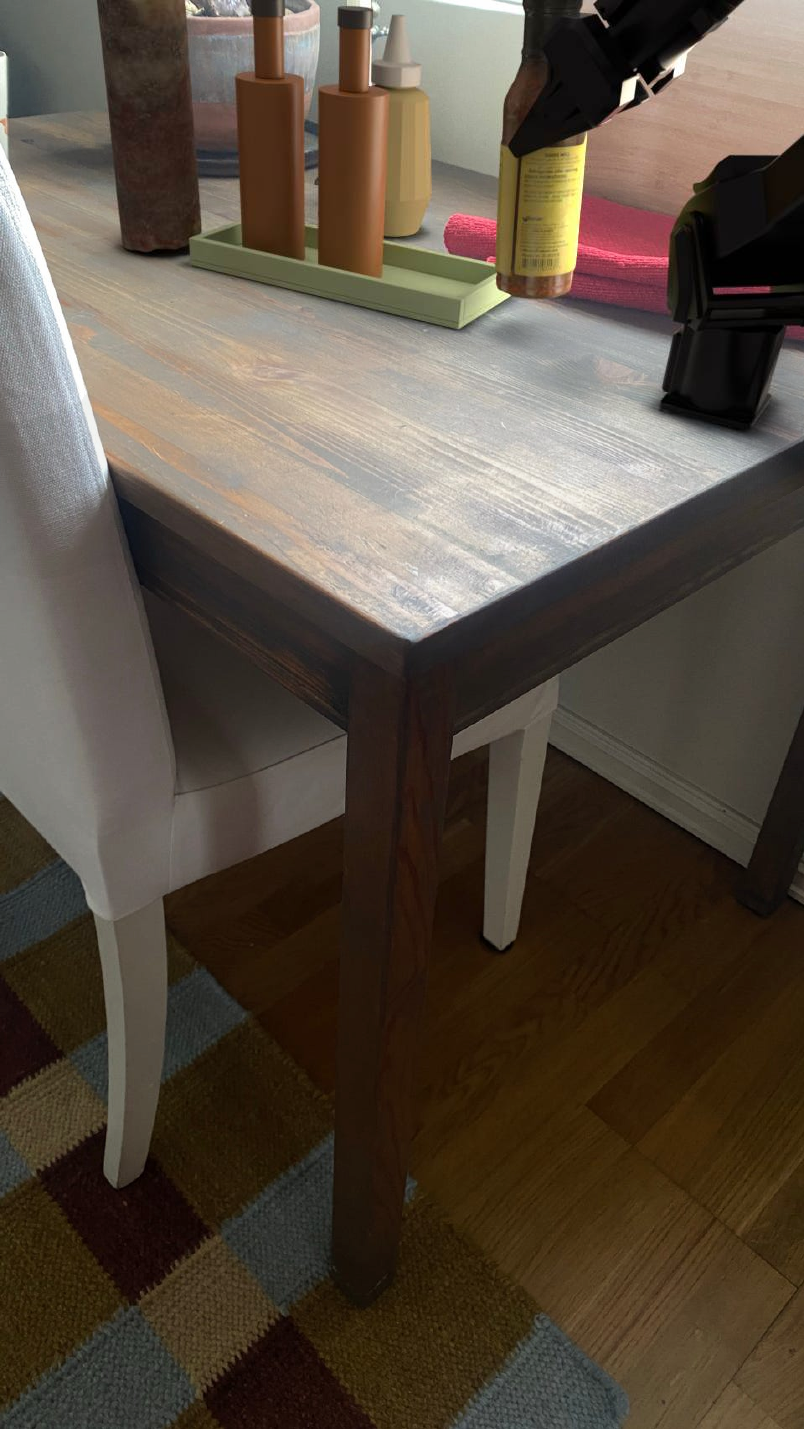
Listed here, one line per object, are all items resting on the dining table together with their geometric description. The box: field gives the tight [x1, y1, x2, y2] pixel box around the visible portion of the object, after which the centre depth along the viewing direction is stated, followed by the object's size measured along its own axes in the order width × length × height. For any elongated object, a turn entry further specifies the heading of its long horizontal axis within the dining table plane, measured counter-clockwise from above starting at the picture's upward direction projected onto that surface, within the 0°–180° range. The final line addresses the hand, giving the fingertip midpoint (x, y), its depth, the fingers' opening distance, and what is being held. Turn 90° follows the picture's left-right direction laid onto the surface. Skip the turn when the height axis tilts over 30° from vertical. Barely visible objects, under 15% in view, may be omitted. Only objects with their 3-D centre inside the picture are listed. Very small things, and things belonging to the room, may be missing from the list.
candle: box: [96, 0, 203, 253], centre depth 90 cm, size 8×7×20 cm
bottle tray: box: [188, 0, 512, 330], centre depth 85 cm, size 27×11×20 cm, turn 61°
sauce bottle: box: [494, 0, 588, 300], centre depth 76 cm, size 6×6×20 cm
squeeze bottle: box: [370, 13, 433, 238], centre depth 98 cm, size 8×8×18 cm
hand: (527, 144), depth 76 cm, fingers closed on sauce bottle, 6 cm apart
